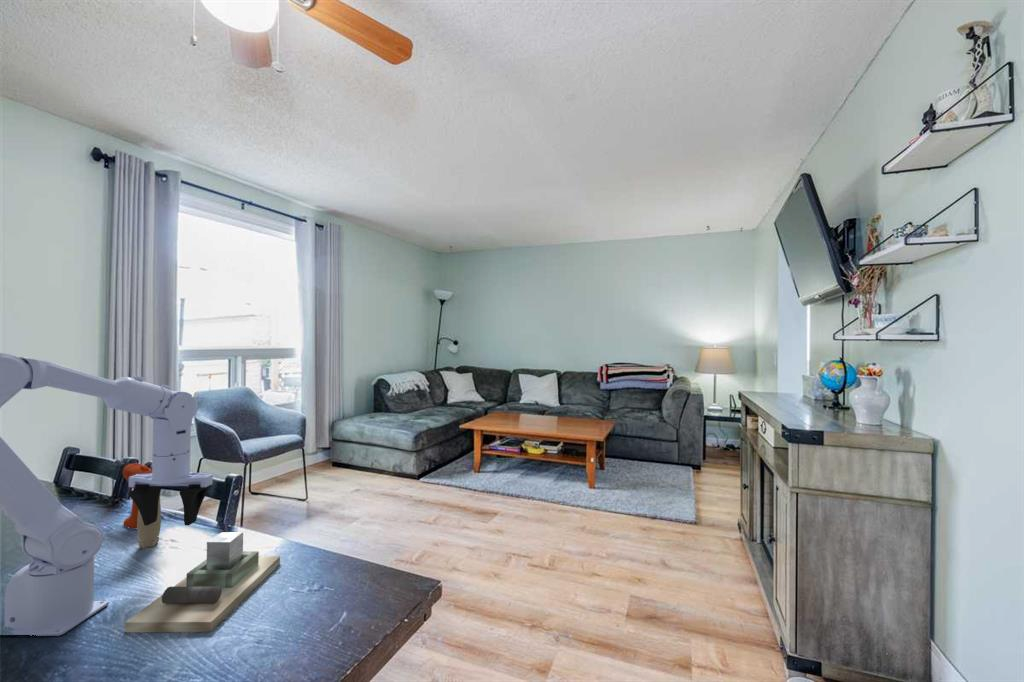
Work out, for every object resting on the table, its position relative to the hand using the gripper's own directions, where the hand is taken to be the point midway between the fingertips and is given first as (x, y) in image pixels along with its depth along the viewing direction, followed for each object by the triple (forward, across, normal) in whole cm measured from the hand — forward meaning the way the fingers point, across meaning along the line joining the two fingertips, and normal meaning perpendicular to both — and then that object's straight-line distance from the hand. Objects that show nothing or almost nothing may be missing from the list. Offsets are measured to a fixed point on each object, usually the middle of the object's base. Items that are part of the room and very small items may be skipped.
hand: (170, 523), depth 81 cm
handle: (+10, +13, -11) cm, 20 cm away
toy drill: (+10, +28, -24) cm, 38 cm away
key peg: (+8, -13, +4) cm, 16 cm away
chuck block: (+9, -13, +7) cm, 18 cm away
